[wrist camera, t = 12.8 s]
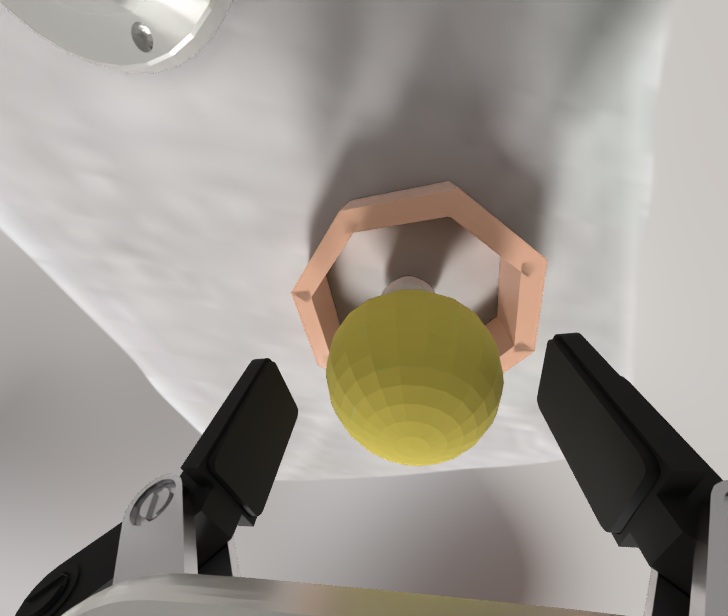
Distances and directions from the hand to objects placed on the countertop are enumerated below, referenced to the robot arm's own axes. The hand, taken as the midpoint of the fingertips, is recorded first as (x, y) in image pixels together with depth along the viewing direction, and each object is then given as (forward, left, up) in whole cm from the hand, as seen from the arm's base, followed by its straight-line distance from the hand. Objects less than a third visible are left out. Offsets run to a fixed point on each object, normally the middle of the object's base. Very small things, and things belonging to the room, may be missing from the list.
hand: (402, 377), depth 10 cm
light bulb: (+1, 0, -8) cm, 8 cm away
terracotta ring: (+1, 0, -8) cm, 8 cm away
